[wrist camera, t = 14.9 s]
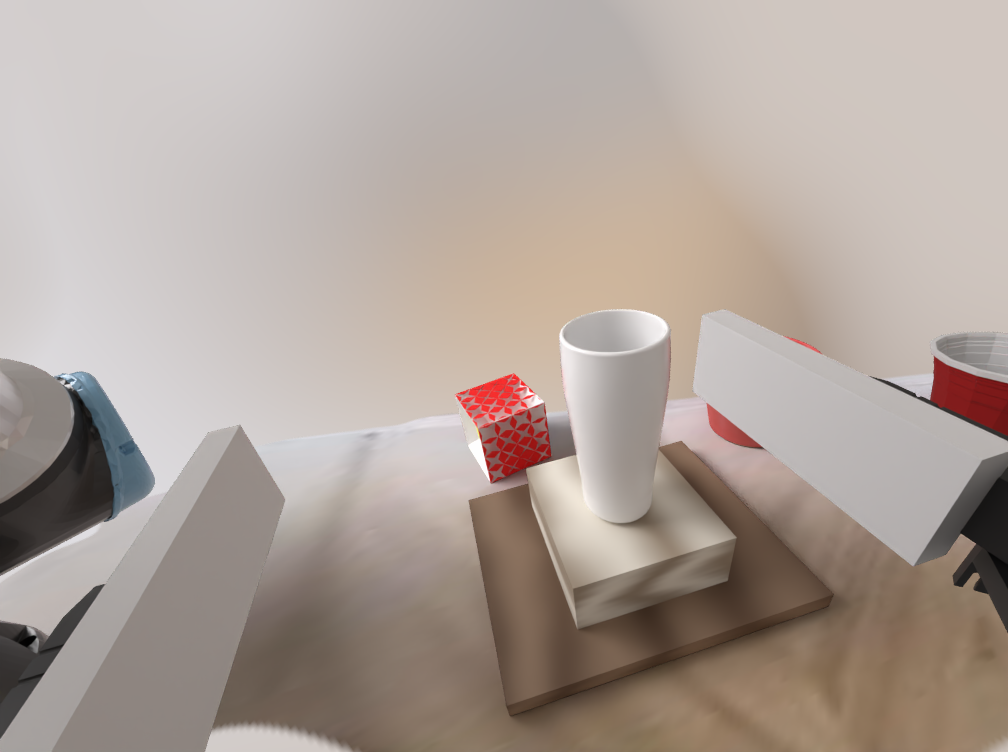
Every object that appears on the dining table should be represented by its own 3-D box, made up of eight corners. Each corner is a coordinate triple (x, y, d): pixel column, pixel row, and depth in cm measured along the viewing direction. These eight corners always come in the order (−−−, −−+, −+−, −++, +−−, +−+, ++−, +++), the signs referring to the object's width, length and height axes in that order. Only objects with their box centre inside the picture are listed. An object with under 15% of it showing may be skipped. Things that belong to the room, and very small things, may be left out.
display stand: (509, 716, 26) (493, 667, 23) (471, 510, 42) (458, 464, 38) (828, 606, 29) (854, 549, 25) (680, 451, 44) (684, 403, 41)
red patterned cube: (467, 445, 51) (454, 394, 47) (521, 423, 53) (513, 373, 49) (491, 484, 45) (478, 428, 41) (551, 457, 47) (545, 402, 43)
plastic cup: (1023, 439, 38) (1095, 326, 33) (1090, 526, 31) (1202, 398, 25) (876, 420, 44) (915, 319, 38) (901, 490, 36) (955, 377, 30)
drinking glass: (597, 459, 36) (589, 303, 29) (674, 487, 32) (688, 313, 24) (558, 511, 32) (536, 343, 24) (641, 551, 28) (645, 364, 20)
